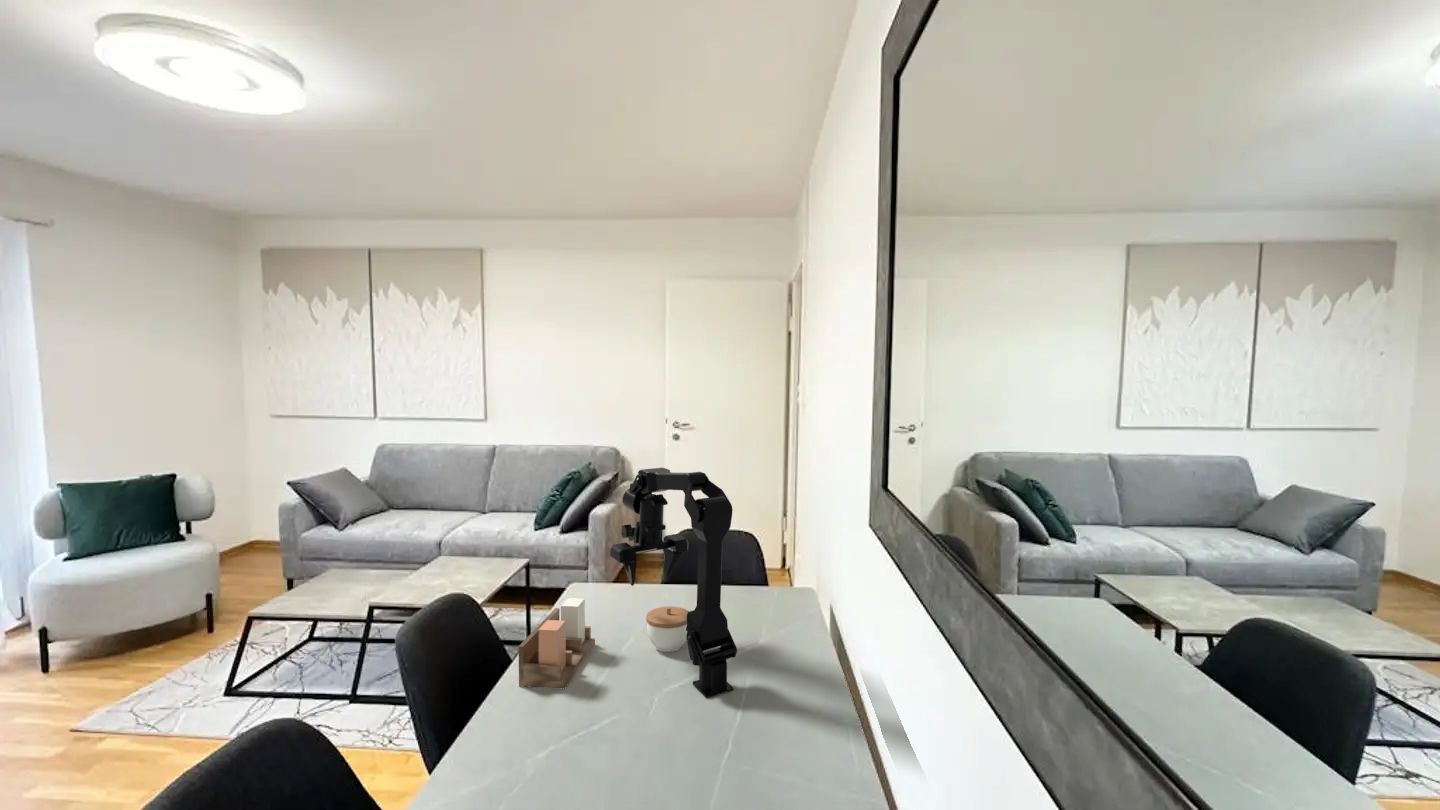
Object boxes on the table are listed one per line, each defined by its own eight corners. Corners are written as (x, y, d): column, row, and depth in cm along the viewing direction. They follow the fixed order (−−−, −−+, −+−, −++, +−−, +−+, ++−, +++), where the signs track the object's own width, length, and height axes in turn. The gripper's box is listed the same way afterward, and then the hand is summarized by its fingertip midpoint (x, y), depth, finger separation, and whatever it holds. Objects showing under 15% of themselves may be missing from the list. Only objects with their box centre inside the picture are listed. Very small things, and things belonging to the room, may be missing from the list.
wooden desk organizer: (595, 644, 145) (594, 609, 145) (564, 689, 125) (564, 648, 124) (555, 642, 146) (555, 608, 146) (518, 686, 125) (518, 646, 125)
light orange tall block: (565, 665, 131) (565, 620, 130) (557, 677, 126) (557, 630, 125) (548, 664, 131) (547, 619, 131) (538, 676, 126) (538, 629, 126)
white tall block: (584, 639, 144) (584, 598, 143) (578, 649, 139) (577, 606, 138) (568, 639, 144) (568, 598, 144) (561, 648, 139) (560, 605, 139)
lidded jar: (693, 637, 149) (694, 600, 149) (687, 657, 139) (687, 617, 138) (651, 635, 150) (651, 598, 150) (641, 655, 140) (641, 615, 139)
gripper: (667, 506, 158) (665, 564, 159) (601, 515, 147) (599, 577, 149) (690, 517, 149) (688, 578, 150) (621, 528, 138) (619, 594, 140)
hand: (649, 581), depth 147 cm, fingers open, 9 cm apart
